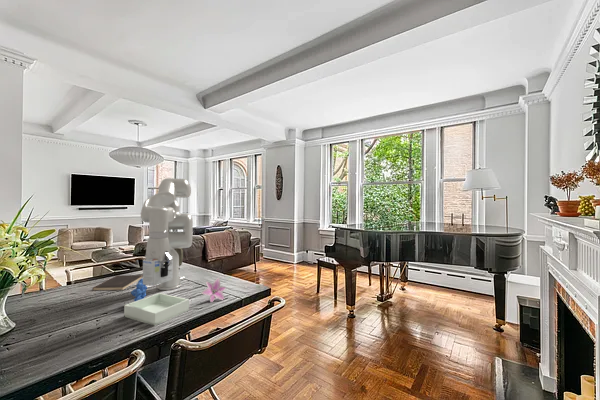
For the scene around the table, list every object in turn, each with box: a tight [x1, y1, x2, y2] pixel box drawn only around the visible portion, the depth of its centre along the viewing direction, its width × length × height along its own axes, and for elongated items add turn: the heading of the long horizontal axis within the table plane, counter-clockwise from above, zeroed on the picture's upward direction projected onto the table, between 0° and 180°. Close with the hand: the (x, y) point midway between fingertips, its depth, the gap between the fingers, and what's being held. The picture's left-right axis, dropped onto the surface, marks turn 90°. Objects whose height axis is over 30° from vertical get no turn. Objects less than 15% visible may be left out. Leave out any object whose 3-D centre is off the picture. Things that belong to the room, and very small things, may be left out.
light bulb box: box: [142, 256, 173, 287], centre depth 121 cm, size 11×7×11 cm, turn 161°
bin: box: [123, 292, 190, 327], centre depth 121 cm, size 17×19×5 cm
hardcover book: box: [92, 274, 143, 291], centre depth 162 cm, size 16×23×2 cm
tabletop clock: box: [174, 248, 184, 271], centre depth 189 cm, size 14×9×25 cm, turn 123°
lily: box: [201, 277, 227, 303], centre depth 139 cm, size 12×12×10 cm
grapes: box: [130, 278, 148, 302], centre depth 131 cm, size 12×7×12 cm, turn 14°
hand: (158, 275), depth 121 cm, fingers closed on light bulb box, 7 cm apart
